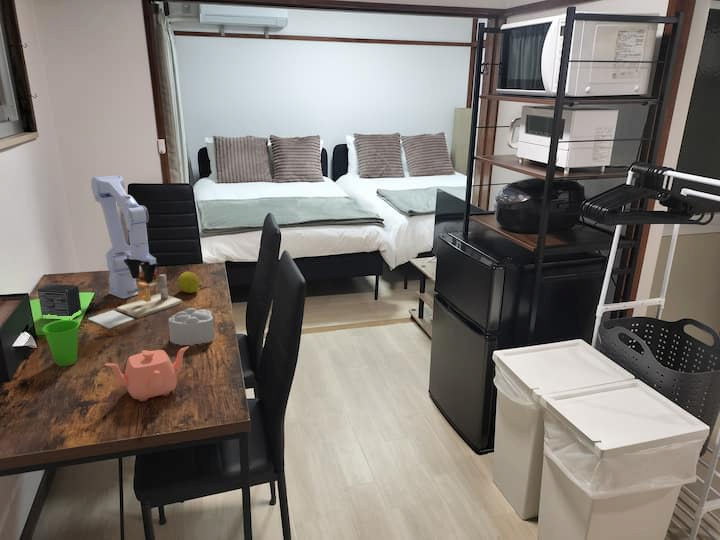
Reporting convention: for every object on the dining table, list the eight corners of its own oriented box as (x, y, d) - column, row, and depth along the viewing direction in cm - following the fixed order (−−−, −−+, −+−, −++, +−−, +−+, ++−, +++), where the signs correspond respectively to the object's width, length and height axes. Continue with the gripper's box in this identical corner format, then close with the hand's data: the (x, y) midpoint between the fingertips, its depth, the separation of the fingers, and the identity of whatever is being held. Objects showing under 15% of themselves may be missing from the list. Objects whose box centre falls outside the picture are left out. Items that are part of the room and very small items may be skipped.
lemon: (199, 296, 197) (198, 276, 194) (177, 297, 195) (176, 277, 192) (200, 286, 207) (199, 267, 204) (179, 287, 205) (178, 268, 202)
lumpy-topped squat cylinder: (215, 342, 161) (214, 316, 158) (171, 348, 156) (168, 321, 153) (211, 328, 170) (210, 304, 167) (169, 334, 165) (167, 308, 162)
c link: (138, 298, 184) (136, 282, 182) (142, 297, 185) (140, 281, 183) (147, 302, 181) (145, 285, 179) (151, 300, 183) (149, 284, 181)
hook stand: (117, 309, 182) (113, 282, 179) (161, 295, 196) (159, 270, 193) (138, 318, 175) (135, 290, 172) (182, 302, 190) (180, 276, 187)
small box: (83, 313, 178) (79, 284, 175) (71, 321, 172) (67, 291, 168) (54, 311, 179) (49, 282, 175) (41, 319, 172) (36, 289, 169)
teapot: (192, 381, 139) (189, 343, 135) (162, 410, 125) (158, 370, 122) (143, 373, 141) (139, 336, 138) (108, 402, 128) (103, 362, 124)
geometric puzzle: (156, 266, 221) (144, 254, 216) (165, 269, 218) (154, 257, 212) (144, 279, 218) (132, 267, 213) (154, 283, 215) (142, 271, 209)
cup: (47, 372, 140) (41, 335, 137) (48, 358, 148) (42, 322, 144) (85, 366, 144) (79, 329, 141) (84, 352, 152) (79, 317, 148)
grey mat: (87, 319, 173) (87, 318, 173) (113, 311, 180) (112, 310, 180) (109, 328, 167) (108, 327, 167) (134, 319, 174) (134, 318, 174)
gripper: (115, 241, 177) (119, 278, 181) (141, 248, 170) (145, 287, 174) (133, 237, 183) (137, 273, 187) (160, 244, 175) (163, 282, 180)
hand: (142, 280), depth 181 cm, fingers open, 7 cm apart
